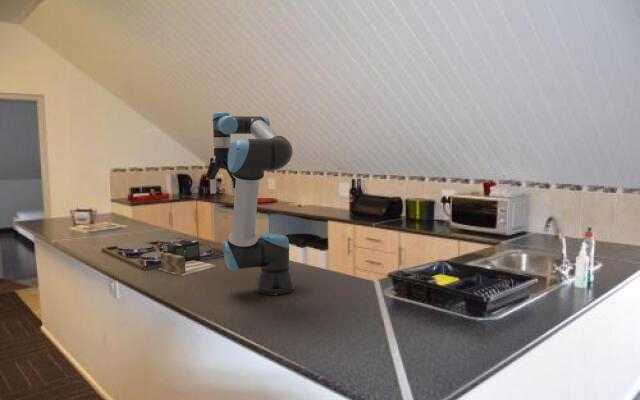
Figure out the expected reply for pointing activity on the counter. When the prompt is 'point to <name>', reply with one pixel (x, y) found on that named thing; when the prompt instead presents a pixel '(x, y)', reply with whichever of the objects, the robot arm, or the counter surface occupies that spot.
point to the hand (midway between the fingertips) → (223, 194)
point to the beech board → (194, 267)
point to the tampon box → (183, 249)
